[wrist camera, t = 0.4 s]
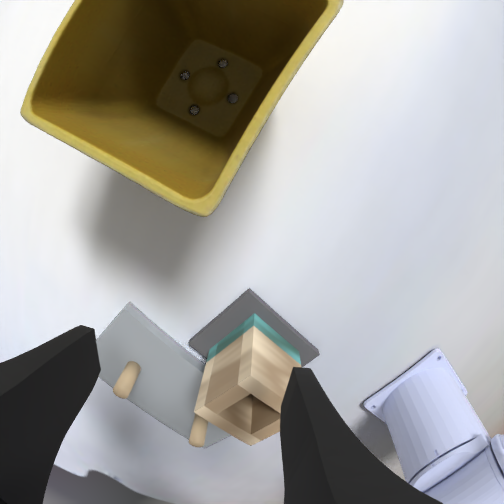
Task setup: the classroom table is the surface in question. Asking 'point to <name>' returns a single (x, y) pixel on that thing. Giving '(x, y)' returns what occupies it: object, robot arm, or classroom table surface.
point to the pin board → (155, 375)
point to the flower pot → (172, 86)
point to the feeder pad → (240, 313)
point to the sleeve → (247, 381)
